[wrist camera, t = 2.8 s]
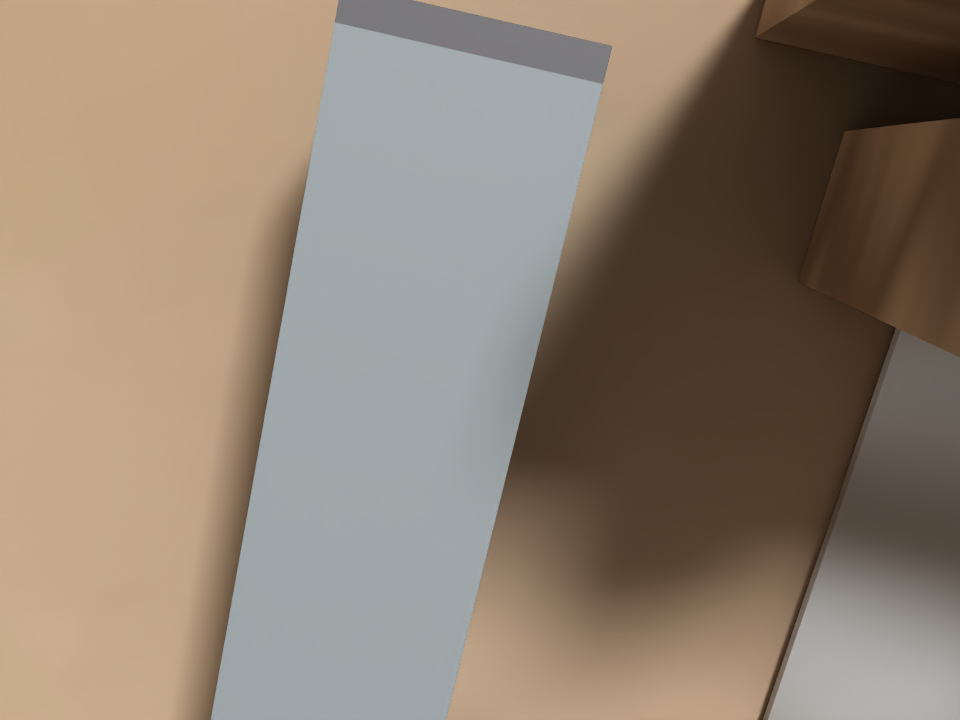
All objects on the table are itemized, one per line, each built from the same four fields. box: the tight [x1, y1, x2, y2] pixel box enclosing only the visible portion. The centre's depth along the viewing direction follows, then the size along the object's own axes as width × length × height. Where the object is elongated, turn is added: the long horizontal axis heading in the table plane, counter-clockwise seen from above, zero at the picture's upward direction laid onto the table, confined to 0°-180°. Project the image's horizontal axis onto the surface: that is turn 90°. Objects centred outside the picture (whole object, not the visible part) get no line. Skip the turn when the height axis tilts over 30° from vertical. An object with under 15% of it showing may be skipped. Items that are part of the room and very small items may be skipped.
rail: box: [211, 0, 612, 720], centre depth 19 cm, size 17×4×6 cm, turn 167°
